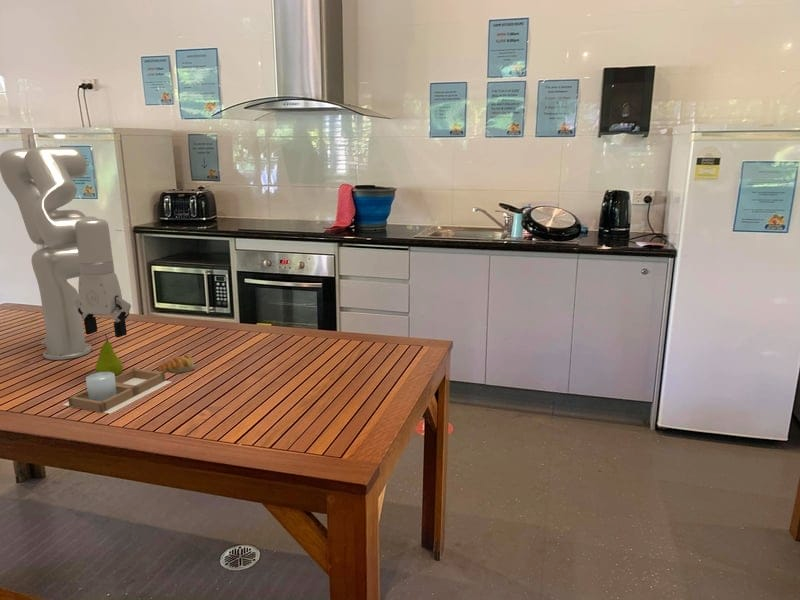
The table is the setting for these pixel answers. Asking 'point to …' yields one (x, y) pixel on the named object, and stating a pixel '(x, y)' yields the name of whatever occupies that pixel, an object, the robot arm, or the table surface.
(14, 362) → the table surface
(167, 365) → the pastry
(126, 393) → the tray
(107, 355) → the fruit
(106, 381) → the pale blue rounded block
